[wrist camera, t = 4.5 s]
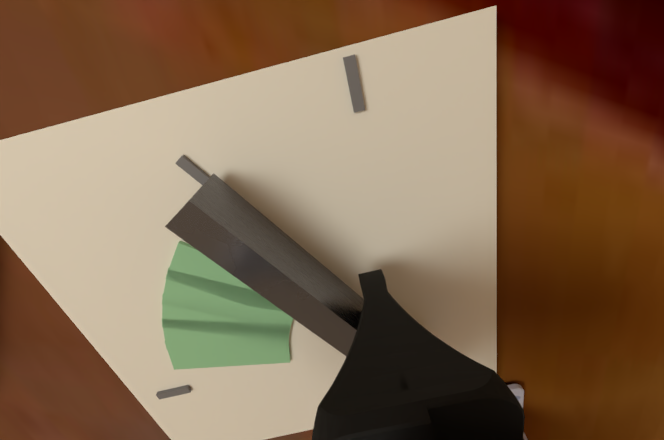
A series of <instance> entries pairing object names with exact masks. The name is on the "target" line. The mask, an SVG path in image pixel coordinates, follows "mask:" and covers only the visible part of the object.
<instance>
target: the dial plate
mask: <svg viewBox="0 0 664 440" xmlns="http://www.w3.org/2000/svg"><path fill="white" fill-rule="evenodd" d="M213 173H214V174H215V175H217V176H218V177H219V178H220V179H221V180H223V181H224V182H225V183H226V184H227V185H228V186H230V187H231V188H232V189H233V190H234V191H236V192H237V193H238V194H239V195H240V196H242V197H243V198H244V199H245V200H246V201H248V202H249V203H250V204H251V205H252V206H253V207H255V208H256V209H257V210H258V211H259V212H261V213H262V214H263V215H264V216H265V217H267V218H268V219H269V220H270V221H271V222H273V223H274V224H275V225H276V226H277V227H279V228H280V229H281V230H282V231H283V232H284V233H286V234H287V235H288V236H289V237H290V238H292V239H293V240H294V241H295V242H296V243H298V244H299V245H300V246H301V247H302V248H304V249H305V250H306V251H307V252H308V253H309V254H311V255H312V256H313V257H314V258H315V259H317V260H318V261H319V262H320V263H321V264H323V265H324V266H325V267H326V268H327V269H329V270H330V271H331V272H332V273H333V274H334V275H336V276H337V277H338V278H339V279H340V280H342V281H343V282H344V283H345V284H346V285H348V286H349V287H350V288H351V289H352V290H354V291H355V292H356V293H357V294H358V295H360V296H361V297H362V298H363V294H362V289H361V285H360V281H359V276H358V274H361V273H366V272H370V271H375V270H379V269H381V270H382V272H383V274H384V277H385V280H386V285H387V290H388V292H389V293H390V295H391V296H392V297H393V298H394V299H395V300H396V301H397V303H398V304H399V305H400V306H401V307H402V308H403V309H404V310H405V311H406V312H407V313H408V314H409V315H410V316H411V317H413V318H414V319H415V320H416V321H417V322H418V323H419V324H421V325H422V326H423V327H424V328H425V329H427V330H428V331H429V332H431V333H432V334H433V335H434V336H436V337H437V338H439V339H440V340H442V341H443V342H445V343H446V344H448V345H449V346H451V347H452V348H454V349H455V350H457V351H459V352H460V353H462V354H464V355H465V356H467V357H469V358H470V359H472V360H474V361H476V362H478V363H480V364H482V365H484V366H486V367H488V368H490V369H492V370H494V371H495V372H496V373H497V165H496V6H493V7H489V8H485V9H482V10H478V11H474V12H471V13H467V14H463V15H460V16H456V17H452V18H449V19H445V20H441V21H438V22H434V23H430V24H426V25H423V26H419V27H415V28H412V29H408V30H404V31H401V32H397V33H393V34H390V35H386V36H382V37H379V38H375V39H371V40H368V41H364V42H360V43H356V44H353V45H349V46H345V47H342V48H338V49H334V50H331V51H327V52H323V53H320V54H316V55H312V56H309V57H305V58H301V59H298V60H294V61H290V62H287V63H283V64H279V65H275V66H272V67H268V68H264V69H261V70H257V71H253V72H250V73H246V74H242V75H239V76H235V77H231V78H228V79H224V80H220V81H217V82H213V83H209V84H206V85H202V86H198V87H194V88H191V89H187V90H183V91H180V92H176V93H172V94H169V95H165V96H161V97H158V98H154V99H150V100H147V101H143V102H139V103H136V104H132V105H128V106H124V107H121V108H117V109H113V110H110V111H106V112H102V113H99V114H95V115H91V116H88V117H84V118H80V119H77V120H73V121H69V122H66V123H62V124H58V125H55V126H51V127H47V128H43V129H40V130H36V131H32V132H29V133H25V134H21V135H18V136H14V137H10V138H7V139H3V140H0V235H1V236H2V237H3V239H4V240H5V241H6V242H7V243H8V245H9V246H10V247H11V248H12V249H13V251H14V252H15V253H16V254H17V255H18V257H19V258H20V259H21V260H22V261H23V263H24V264H25V265H26V266H27V267H28V269H29V270H30V271H31V272H32V273H33V275H34V276H35V277H36V278H37V279H38V281H39V282H40V283H41V284H42V285H43V287H44V288H45V289H46V290H47V291H48V293H49V294H50V295H51V296H52V297H53V299H54V300H55V301H56V302H57V303H58V305H59V306H60V307H61V308H62V309H63V311H64V312H65V313H66V314H67V315H68V317H69V318H70V319H71V320H72V321H73V323H74V324H75V325H76V326H77V327H78V329H79V330H80V331H81V332H82V333H83V335H84V336H85V337H86V338H87V339H88V341H89V342H90V343H91V344H92V345H93V347H94V348H95V349H96V350H97V351H98V353H99V354H100V355H101V356H102V357H103V359H104V360H105V361H106V362H107V363H108V365H109V366H110V367H111V368H112V369H113V371H114V372H115V373H116V374H117V375H118V377H119V378H120V379H121V380H122V381H123V383H124V384H125V385H126V386H127V387H128V389H129V390H130V391H131V392H132V393H133V395H134V396H135V397H136V398H137V399H138V401H139V402H140V403H141V404H142V405H143V407H144V408H145V409H146V410H147V411H148V413H149V414H150V415H151V416H152V417H153V419H154V420H155V421H156V422H157V423H158V425H159V426H160V427H161V428H162V429H163V431H164V432H165V433H166V434H167V435H168V437H169V438H170V439H171V440H264V439H269V438H274V437H278V436H283V435H288V434H292V433H297V432H302V431H306V430H311V429H313V428H314V422H315V417H316V413H317V408H318V405H319V404H320V402H321V401H322V399H323V398H324V396H325V395H326V393H327V392H328V390H329V388H330V387H331V385H332V384H333V382H334V380H335V378H336V376H337V375H338V373H339V371H340V369H341V367H342V365H343V363H344V361H345V359H346V356H345V355H344V354H342V353H341V352H339V351H338V350H337V349H335V348H334V347H332V346H331V345H330V344H328V343H327V342H325V341H324V340H323V339H321V338H320V337H318V336H317V335H316V334H314V333H313V332H311V331H310V330H309V329H307V328H306V327H304V326H303V325H302V324H300V323H299V322H297V321H296V320H295V319H293V318H292V317H290V316H289V315H288V314H286V313H285V312H283V311H282V310H281V309H279V308H278V307H276V306H275V305H274V304H272V303H271V302H269V301H268V300H267V299H265V298H264V297H262V296H261V295H260V294H258V293H257V292H255V291H254V290H253V289H251V288H250V287H248V286H247V285H246V284H244V283H243V282H241V281H240V280H239V279H237V278H236V277H234V276H233V275H232V274H230V273H229V272H227V271H226V270H225V269H223V268H222V267H220V266H219V265H218V264H216V263H215V262H213V261H212V260H211V259H209V258H208V257H206V256H205V255H204V254H202V253H201V252H199V251H198V250H197V249H195V248H194V247H192V246H191V245H190V244H188V243H187V242H185V241H184V240H183V239H181V238H180V237H178V236H177V235H176V234H174V233H173V232H171V231H170V230H169V229H167V228H166V227H165V226H166V225H167V224H168V223H169V221H170V220H171V219H172V218H173V217H174V216H175V215H176V214H177V213H178V211H179V210H180V209H181V208H182V207H183V206H184V205H185V204H186V203H187V201H188V200H189V199H190V198H191V197H192V196H193V195H194V194H195V193H196V192H197V190H198V189H199V188H200V187H201V186H202V185H203V184H204V183H205V182H206V181H207V180H208V179H209V178H210V177H211V175H212V174H213ZM363 299H364V298H363Z"/></svg>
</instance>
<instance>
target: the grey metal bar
mask: <svg viewBox="0 0 664 440" xmlns="http://www.w3.org/2000/svg"><path fill="white" fill-rule="evenodd" d="M165 227H166V228H167V229H169V230H170V231H171V232H173V233H174V234H176V235H177V236H178V237H180V238H181V239H183V240H184V241H185V242H187V243H188V244H190V245H191V246H192V247H194V248H195V249H197V250H198V251H199V252H201V253H202V254H204V255H205V256H206V257H208V258H209V259H211V260H212V261H213V262H215V263H216V264H218V265H219V266H220V267H222V268H223V269H225V270H226V271H227V272H229V273H230V274H232V275H233V276H234V277H236V278H237V279H239V280H240V281H241V282H243V283H244V284H246V285H247V286H248V287H250V288H251V289H253V290H254V291H255V292H257V293H258V294H260V295H261V296H262V297H264V298H265V299H267V300H268V301H269V302H271V303H272V304H274V305H275V306H276V307H278V308H279V309H281V310H282V311H283V312H285V313H286V314H288V315H289V316H290V317H292V318H293V319H295V320H296V321H297V322H299V323H300V324H302V325H303V326H304V327H306V328H307V329H309V330H310V331H311V332H313V333H314V334H316V335H317V336H318V337H320V338H321V339H323V340H324V341H325V342H327V343H328V344H330V345H331V346H332V347H334V348H335V349H337V350H338V351H339V352H341V353H342V354H344V355H345V356H346V357H347V355H348V352H349V350H350V347H351V345H352V342H353V340H354V337H355V334H356V331H357V328H358V324H359V321H360V317H361V312H362V308H363V302H364V299H363V298H362V297H361V296H360V295H358V294H357V293H356V292H355V291H354V290H352V289H351V288H350V287H349V286H348V285H346V284H345V283H344V282H343V281H342V280H340V279H339V278H338V277H337V276H336V275H334V274H333V273H332V272H331V271H330V270H329V269H327V268H326V267H325V266H324V265H323V264H321V263H320V262H319V261H318V260H317V259H315V258H314V257H313V256H312V255H311V254H309V253H308V252H307V251H306V250H305V249H304V248H302V247H301V246H300V245H299V244H298V243H296V242H295V241H294V240H293V239H292V238H290V237H289V236H288V235H287V234H286V233H284V232H283V231H282V230H281V229H280V228H279V227H277V226H276V225H275V224H274V223H273V222H271V221H270V220H269V219H268V218H267V217H265V216H264V215H263V214H262V213H261V212H259V211H258V210H257V209H256V208H255V207H253V206H252V205H251V204H250V203H249V202H248V201H246V200H245V199H244V198H243V197H242V196H240V195H239V194H238V193H237V192H236V191H234V190H233V189H232V188H231V187H230V186H228V185H227V184H226V183H225V182H224V181H223V180H221V179H220V178H219V177H218V176H217V175H215V174H214V173H213V174H212V175H211V177H210V178H209V179H208V180H207V181H206V182H205V183H204V184H203V185H202V186H201V187H200V188H199V189H198V190H197V192H196V193H195V194H194V195H193V196H192V197H191V198H190V199H189V200H188V201H187V203H186V204H185V205H184V206H183V207H182V208H181V209H180V210H179V211H178V213H177V214H176V215H175V216H174V217H173V218H172V219H171V220H170V221H169V223H168V224H167V225H166V226H165Z"/></svg>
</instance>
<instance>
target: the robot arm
mask: <svg viewBox="0 0 664 440" xmlns="http://www.w3.org/2000/svg"><path fill="white" fill-rule="evenodd" d="M358 276H359V281H360V285H361V289H362V294H363V298H364V302H363V308H362V312H361V317H360V321H359V324H358V328H357V331H356V334H355V337H354V340H353V342H352V345H351V347H350V350H349V352H348V355H347V357H346V359H345V361H344V363H343V365H342V367H341V369H340V371H339V373H338V375H337V376H336V378H335V380H334V382H333V384H332V385H331V387H330V388H329V390H328V392H327V393H326V395H325V396H324V398H323V399H322V401H321V402H320V404H319V405H318V408H317V413H316V417H315V422H314V428H313V435H312V440H528V439H527V437H526V435H525V434H524V418H525V416H524V410H523V401H524V390H523V388H522V387H521V385H519V384H510V385H506V384H505V382H504V381H503V380H502V379H501V378H500V376H499V375H498V374H497V373H496V372H495V371H494V370H492V369H490V368H488V367H486V366H484V365H482V364H480V363H478V362H476V361H474V360H472V359H470V358H469V357H467V356H465V355H464V354H462V353H460V352H459V351H457V350H455V349H454V348H452V347H451V346H449V345H448V344H446V343H445V342H443V341H442V340H440V339H439V338H437V337H436V336H434V335H433V334H432V333H431V332H429V331H428V330H427V329H425V328H424V327H423V326H422V325H421V324H419V323H418V322H417V321H416V320H415V319H414V318H413V317H411V316H410V315H409V314H408V313H407V312H406V311H405V310H404V309H403V308H402V307H401V306H400V305H399V304H398V303H397V301H396V300H395V299H394V298H393V297H392V296H391V295H390V293H389V292H388V290H387V285H386V280H385V277H384V274H383V272H382V270H381V269H379V270H375V271H370V272H366V273H361V274H358Z"/></svg>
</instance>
